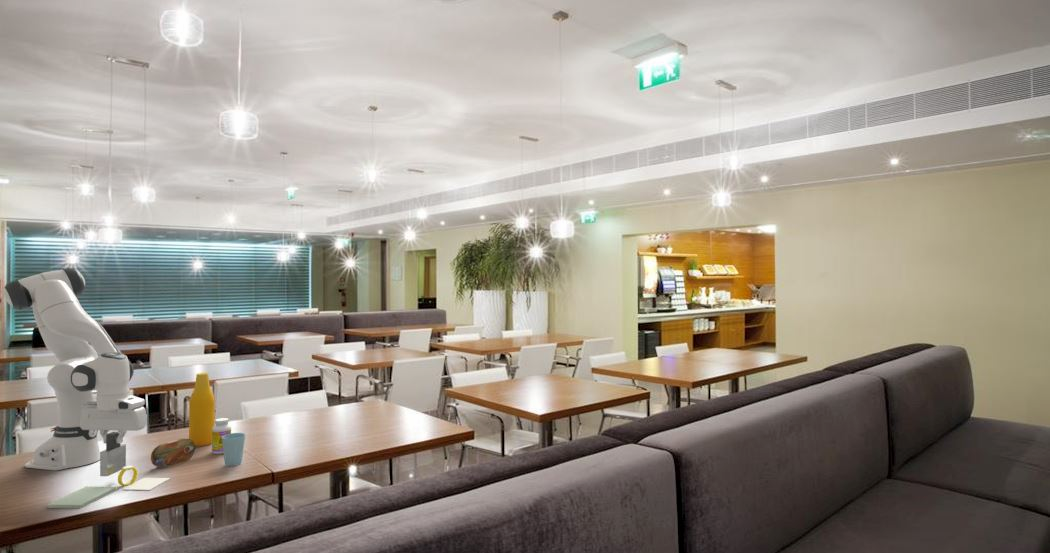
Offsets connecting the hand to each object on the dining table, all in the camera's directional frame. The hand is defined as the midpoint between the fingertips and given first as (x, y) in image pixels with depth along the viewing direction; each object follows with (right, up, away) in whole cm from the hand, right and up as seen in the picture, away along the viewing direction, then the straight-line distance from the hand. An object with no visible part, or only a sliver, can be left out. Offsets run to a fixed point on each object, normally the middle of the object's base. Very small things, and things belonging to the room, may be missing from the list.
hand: (113, 443), depth 182 cm
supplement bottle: (+17, -14, +34) cm, 41 cm away
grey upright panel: (0, -10, 0) cm, 10 cm away
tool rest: (0, -14, -12) cm, 18 cm away
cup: (+29, -14, +21) cm, 38 cm away
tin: (+7, -14, +20) cm, 26 cm away
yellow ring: (+5, -14, 0) cm, 15 cm away
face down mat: (+11, -14, 0) cm, 18 cm away
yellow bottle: (+3, -14, +44) cm, 46 cm away
